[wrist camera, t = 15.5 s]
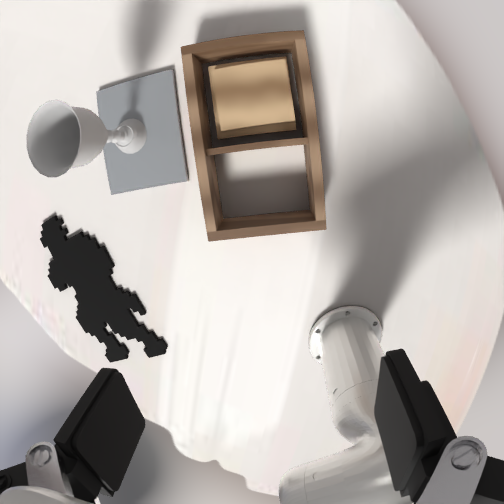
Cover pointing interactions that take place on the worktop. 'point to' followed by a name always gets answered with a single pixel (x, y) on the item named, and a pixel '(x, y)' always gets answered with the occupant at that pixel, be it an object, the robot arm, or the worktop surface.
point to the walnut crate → (205, 152)
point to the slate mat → (157, 127)
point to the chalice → (75, 137)
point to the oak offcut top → (253, 94)
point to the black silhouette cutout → (96, 291)
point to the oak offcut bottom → (255, 129)
